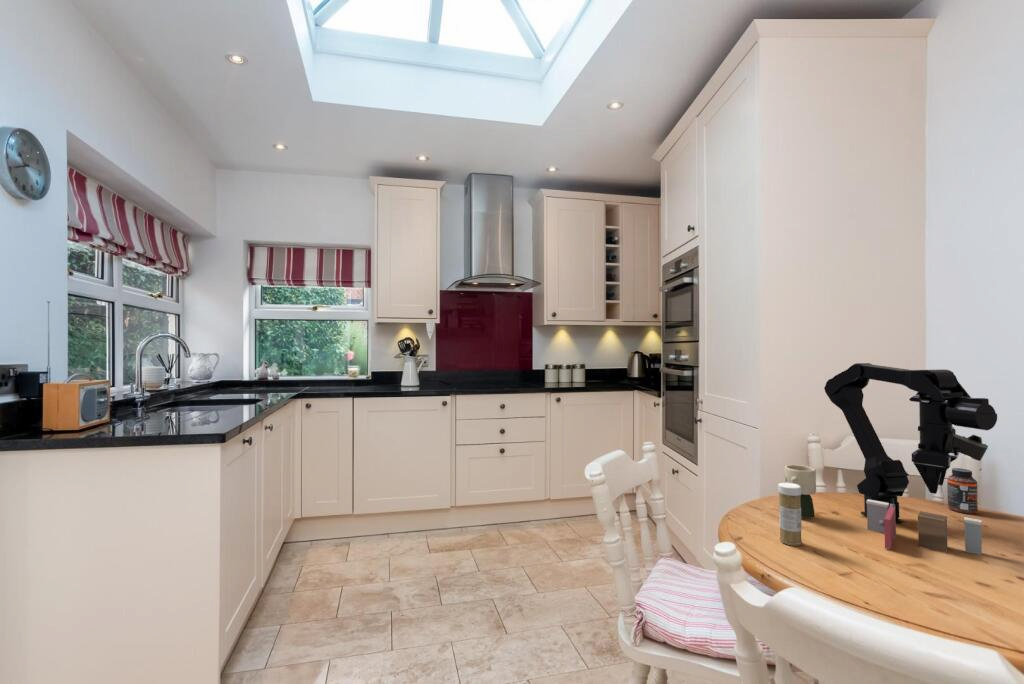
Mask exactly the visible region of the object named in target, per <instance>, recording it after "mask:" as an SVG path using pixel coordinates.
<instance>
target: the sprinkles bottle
mask: <svg viewBox="0 0 1024 684" xmlns="http://www.w3.org/2000/svg"><path fill="white" fill-rule="evenodd" d="M777 490H778V494H779V498H778V499H779V514H778V515H779V516H778V519H779V535H780V536H779V540H780V542H781V543H783V544H785V545H786V546H787V545H788V546H794V547H799V546H801V545H803V540H802V530H803V529H802V517H801V502H800V497H801V487H800V486H799V485H797V484H793V483H785V482H780V483H778V489H777Z"/></svg>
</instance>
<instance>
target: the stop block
mask: <svg viewBox="0 0 1024 684" xmlns="http://www.w3.org/2000/svg"><path fill="white" fill-rule="evenodd" d="M917 534H918V535H917V536H918V539H917V540H918V541H917V542H918V547H919V548H922V549H927V550H931V551H935V552H940V553H943V554H946V553H947V550H948V547H949V546H948V516H947V515H944V514H940V513H939V514H937V513H933V512H928V511H923V510H922V511H921V510H920V511H919V513H918V515H917Z"/></svg>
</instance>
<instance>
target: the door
mask: <svg viewBox="0 0 1024 684" xmlns="http://www.w3.org/2000/svg"><path fill="white" fill-rule="evenodd" d="M879 525H880V526H884V527H885V533H884V549H887V550H888V549H889V550H891V549H892V547H893V544H894V541H895V537H896V536H897V531H896V532H895V508H894V507H889V509H888V511H887V514H886V516H885V518H884V521H882V520H880V521H879Z"/></svg>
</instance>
